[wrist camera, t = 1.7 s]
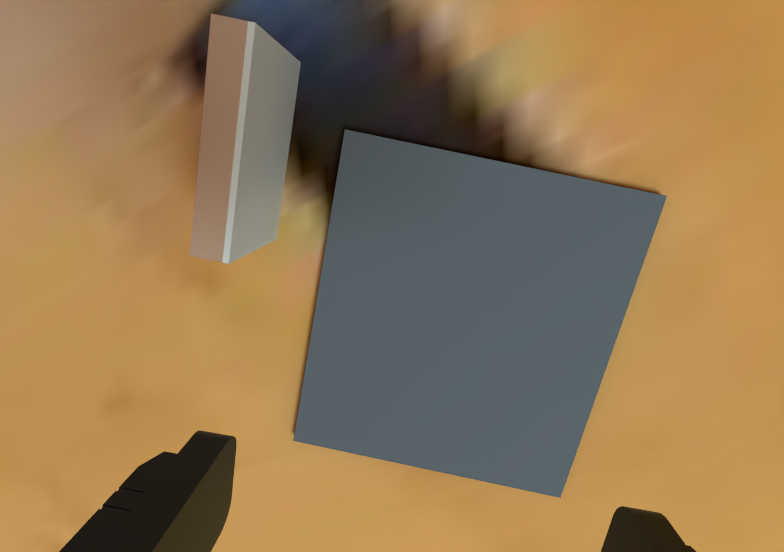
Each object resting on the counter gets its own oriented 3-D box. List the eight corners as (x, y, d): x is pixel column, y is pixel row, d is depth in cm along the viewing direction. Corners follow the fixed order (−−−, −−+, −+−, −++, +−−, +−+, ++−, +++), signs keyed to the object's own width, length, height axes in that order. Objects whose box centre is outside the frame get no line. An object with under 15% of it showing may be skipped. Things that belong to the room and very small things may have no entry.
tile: (269, 56, 24) (211, 13, 18) (300, 62, 24) (255, 22, 18) (247, 233, 27) (190, 255, 20) (276, 239, 27) (228, 263, 20)
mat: (346, 130, 25) (344, 129, 24) (660, 195, 25) (666, 196, 24) (295, 435, 30) (293, 440, 29) (557, 491, 30) (560, 497, 29)
